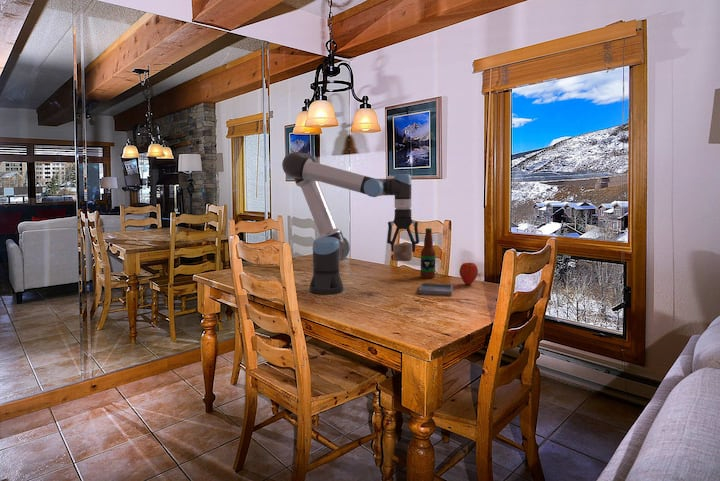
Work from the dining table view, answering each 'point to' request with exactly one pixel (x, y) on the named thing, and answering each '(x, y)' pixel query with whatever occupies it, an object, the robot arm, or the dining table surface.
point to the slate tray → (436, 289)
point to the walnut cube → (402, 252)
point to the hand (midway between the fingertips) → (403, 258)
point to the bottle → (428, 256)
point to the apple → (468, 272)
